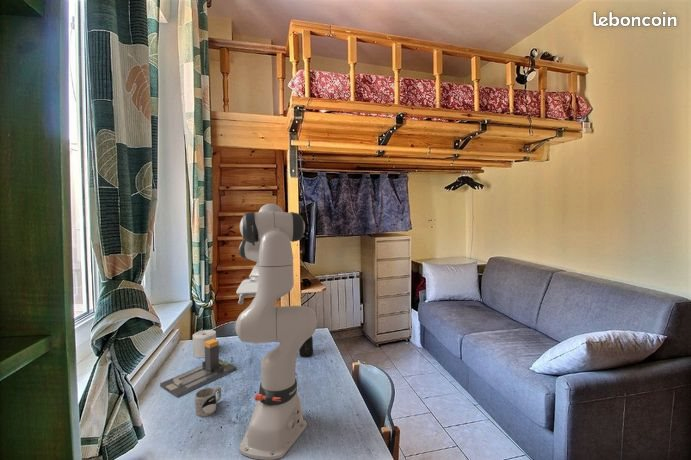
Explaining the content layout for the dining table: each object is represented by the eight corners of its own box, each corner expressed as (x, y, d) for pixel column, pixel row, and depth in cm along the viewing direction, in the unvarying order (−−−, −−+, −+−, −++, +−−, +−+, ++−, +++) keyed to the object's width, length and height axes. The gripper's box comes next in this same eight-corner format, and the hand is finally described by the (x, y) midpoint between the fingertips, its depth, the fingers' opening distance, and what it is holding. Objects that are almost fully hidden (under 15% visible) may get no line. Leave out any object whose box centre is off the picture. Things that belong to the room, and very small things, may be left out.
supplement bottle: (314, 351, 157) (313, 328, 156) (311, 358, 150) (311, 333, 149) (300, 351, 157) (300, 327, 157) (297, 357, 151) (297, 333, 150)
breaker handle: (213, 364, 140) (213, 338, 140) (219, 367, 138) (218, 340, 137) (205, 368, 137) (204, 341, 136) (210, 371, 135) (209, 344, 134)
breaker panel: (218, 361, 148) (218, 354, 148) (236, 369, 140) (236, 362, 139) (160, 386, 126) (159, 378, 126) (177, 397, 118) (177, 389, 118)
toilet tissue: (207, 347, 164) (207, 328, 163) (222, 352, 158) (222, 332, 157) (188, 355, 155) (187, 335, 154) (203, 360, 148) (202, 340, 148)
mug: (204, 419, 106) (203, 400, 106) (191, 413, 109) (190, 395, 109) (227, 403, 115) (227, 385, 114) (214, 398, 118) (214, 381, 117)
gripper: (241, 274, 152) (227, 300, 144) (268, 272, 140) (255, 300, 132) (250, 281, 155) (237, 307, 148) (278, 279, 143) (265, 307, 136)
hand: (246, 303), depth 140 cm, fingers open, 8 cm apart
